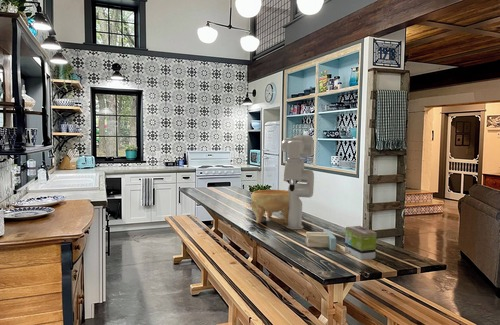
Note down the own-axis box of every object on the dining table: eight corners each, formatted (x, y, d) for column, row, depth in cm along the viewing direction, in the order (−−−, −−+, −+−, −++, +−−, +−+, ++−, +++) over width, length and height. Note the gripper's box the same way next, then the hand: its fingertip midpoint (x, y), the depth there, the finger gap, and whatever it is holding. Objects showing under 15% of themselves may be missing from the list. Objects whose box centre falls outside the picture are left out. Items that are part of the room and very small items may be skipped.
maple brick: (305, 243, 225) (306, 231, 224) (325, 243, 225) (325, 232, 225) (307, 246, 217) (308, 235, 216) (328, 247, 217) (328, 235, 217)
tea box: (343, 251, 210) (345, 226, 209) (358, 250, 213) (359, 225, 212) (360, 260, 196) (362, 233, 195) (375, 258, 199) (377, 231, 198)
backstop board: (322, 240, 231) (323, 229, 231) (327, 240, 231) (328, 229, 231) (330, 250, 211) (331, 238, 211) (335, 250, 211) (336, 238, 211)
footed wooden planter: (294, 217, 296) (295, 188, 294) (295, 227, 261) (297, 195, 260) (252, 214, 299) (253, 186, 298) (248, 224, 265) (249, 193, 263)
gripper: (304, 161, 228) (302, 190, 229) (280, 160, 228) (279, 189, 229) (306, 162, 221) (304, 192, 222) (281, 161, 220) (280, 191, 221)
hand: (291, 190), depth 225 cm, fingers closed
